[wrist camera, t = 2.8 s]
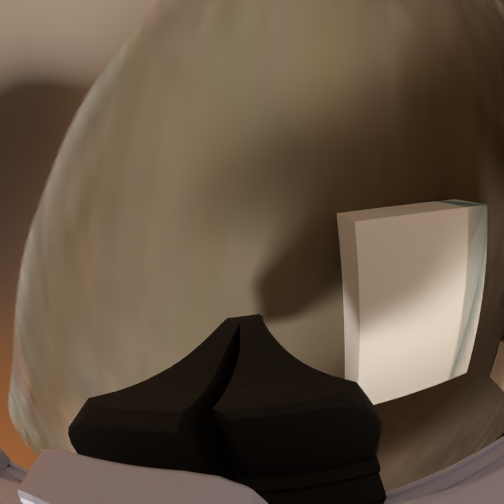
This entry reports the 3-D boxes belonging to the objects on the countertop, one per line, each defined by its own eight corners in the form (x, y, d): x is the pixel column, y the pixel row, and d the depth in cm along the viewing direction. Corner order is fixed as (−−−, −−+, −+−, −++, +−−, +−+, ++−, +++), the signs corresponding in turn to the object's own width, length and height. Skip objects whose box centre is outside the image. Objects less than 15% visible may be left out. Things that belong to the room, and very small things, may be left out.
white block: (343, 376, 13) (356, 409, 11) (335, 212, 11) (354, 221, 9) (443, 348, 13) (466, 372, 10) (453, 198, 11) (487, 204, 8)
